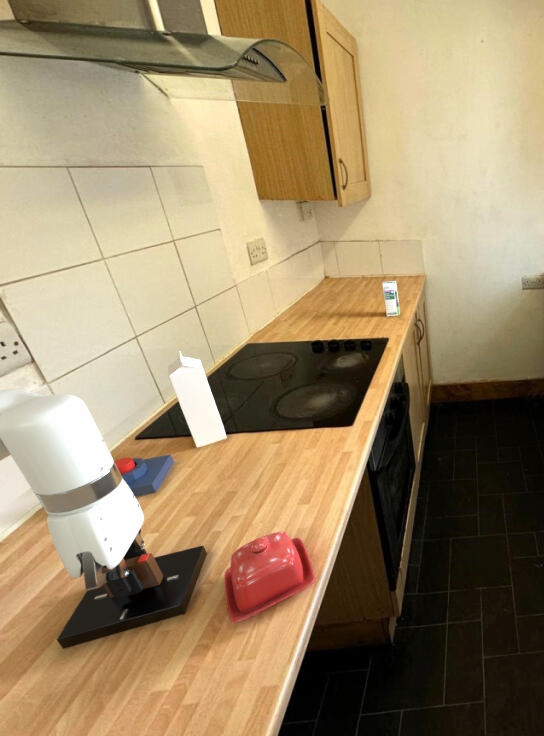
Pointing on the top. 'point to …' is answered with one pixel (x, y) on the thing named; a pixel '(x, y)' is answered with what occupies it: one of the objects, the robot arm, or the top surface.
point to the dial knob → (143, 571)
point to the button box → (147, 474)
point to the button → (125, 465)
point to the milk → (196, 400)
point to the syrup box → (391, 298)
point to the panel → (136, 601)
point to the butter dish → (266, 574)
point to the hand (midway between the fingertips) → (134, 581)
